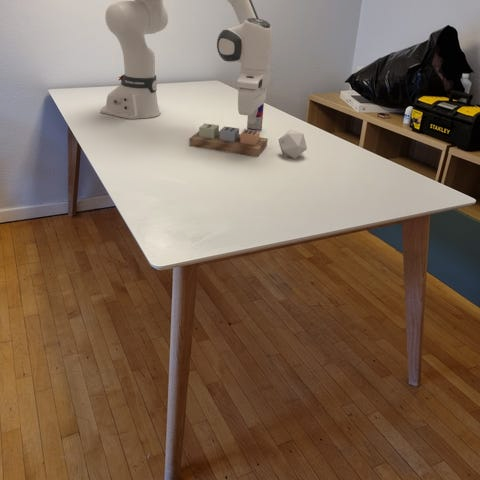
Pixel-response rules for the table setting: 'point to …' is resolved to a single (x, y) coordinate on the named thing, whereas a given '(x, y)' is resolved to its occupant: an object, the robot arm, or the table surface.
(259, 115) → the energy drink
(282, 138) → the die
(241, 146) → the panel
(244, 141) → the tile three
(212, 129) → the tile one
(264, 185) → the table surface
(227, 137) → the tile two
